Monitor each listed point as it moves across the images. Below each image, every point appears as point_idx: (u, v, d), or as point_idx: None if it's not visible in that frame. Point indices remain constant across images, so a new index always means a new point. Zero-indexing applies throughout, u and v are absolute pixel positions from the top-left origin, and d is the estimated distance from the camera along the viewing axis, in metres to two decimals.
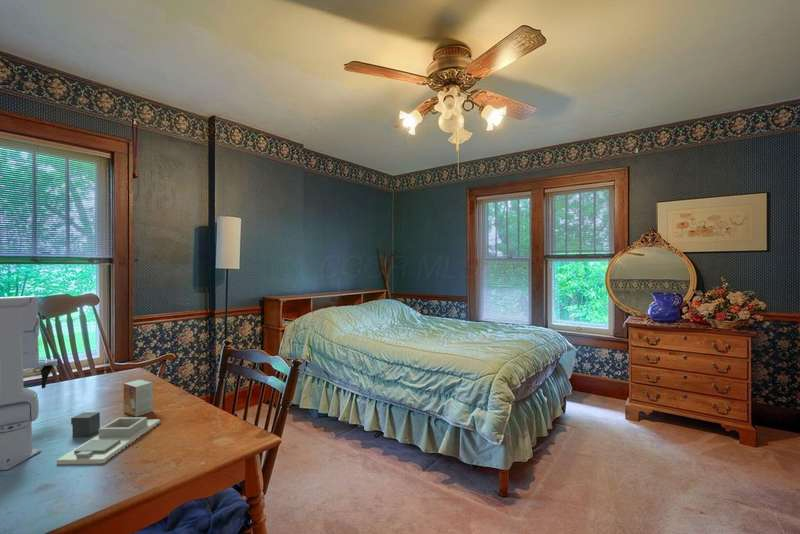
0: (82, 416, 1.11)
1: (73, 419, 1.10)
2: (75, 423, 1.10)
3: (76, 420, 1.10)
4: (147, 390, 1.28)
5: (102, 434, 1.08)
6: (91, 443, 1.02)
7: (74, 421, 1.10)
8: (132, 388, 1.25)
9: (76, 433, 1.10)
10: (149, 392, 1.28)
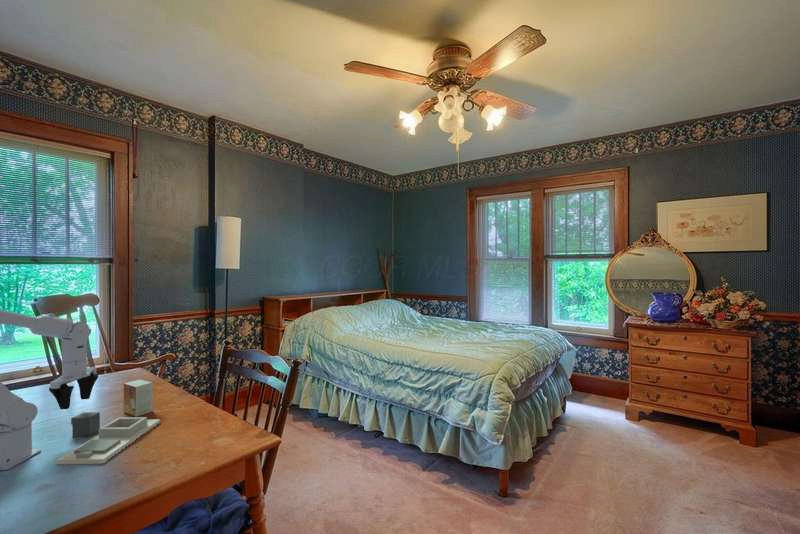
0: (82, 416, 1.11)
1: (73, 419, 1.10)
2: (75, 423, 1.10)
3: (76, 420, 1.10)
4: (147, 390, 1.28)
5: (102, 434, 1.08)
6: (91, 443, 1.02)
7: (74, 421, 1.10)
8: (132, 388, 1.25)
9: (76, 433, 1.10)
10: (149, 392, 1.28)
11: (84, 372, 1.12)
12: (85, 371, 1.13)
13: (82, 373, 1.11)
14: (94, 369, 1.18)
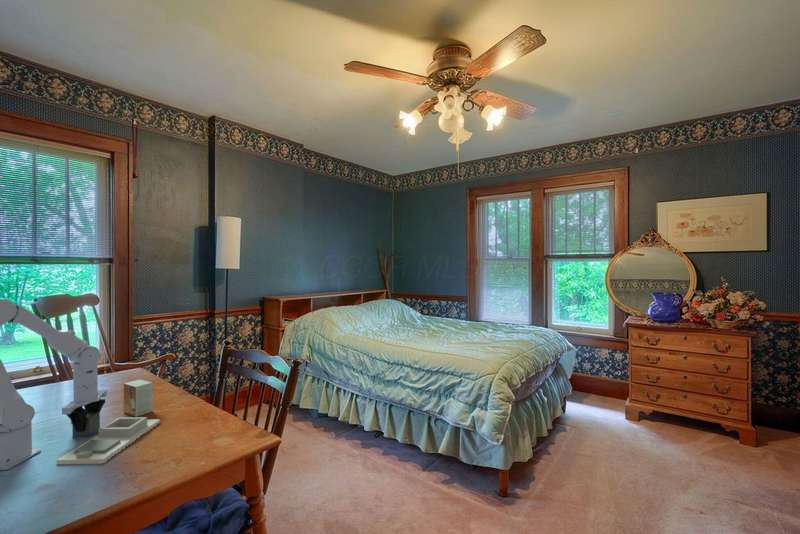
0: None
1: None
2: None
3: None
4: (147, 390, 1.28)
5: (102, 434, 1.08)
6: (91, 443, 1.02)
7: None
8: (132, 388, 1.25)
9: (76, 433, 1.10)
10: (149, 392, 1.28)
11: (95, 396, 1.12)
12: (96, 395, 1.13)
13: (93, 397, 1.12)
14: (105, 392, 1.19)
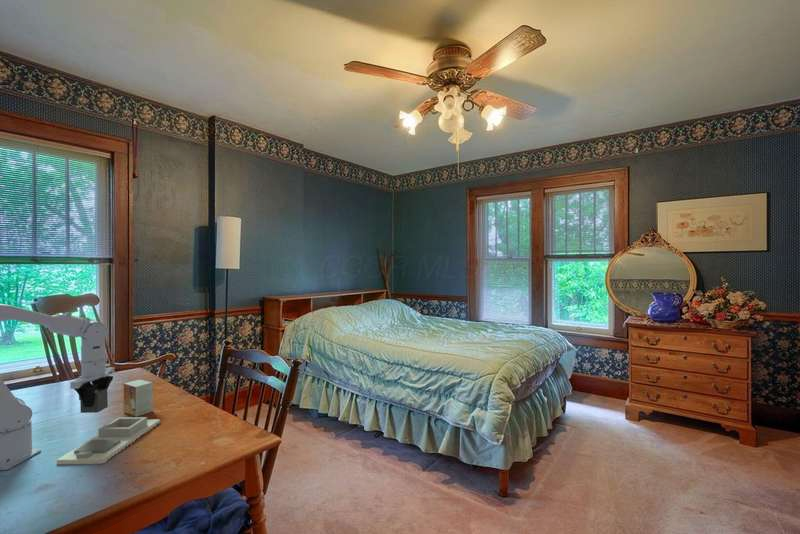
0: None
1: None
2: None
3: None
4: (147, 390, 1.28)
5: (102, 434, 1.08)
6: (91, 443, 1.02)
7: None
8: (132, 388, 1.25)
9: (84, 408, 1.10)
10: (149, 392, 1.28)
11: (103, 372, 1.12)
12: (104, 371, 1.13)
13: (101, 373, 1.11)
14: (112, 369, 1.18)
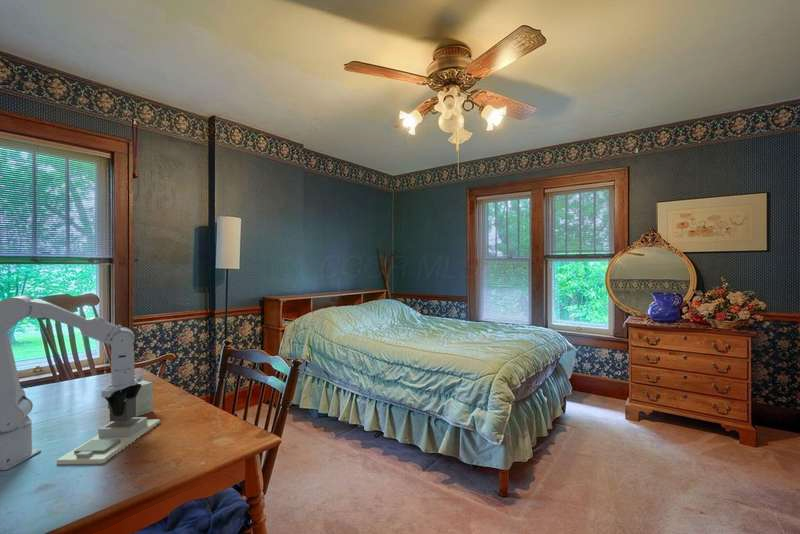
0: None
1: None
2: None
3: None
4: (147, 390, 1.28)
5: (102, 434, 1.08)
6: (91, 443, 1.02)
7: None
8: None
9: (113, 417, 1.10)
10: (149, 392, 1.28)
11: (132, 380, 1.12)
12: (133, 379, 1.12)
13: (131, 381, 1.11)
14: (140, 377, 1.18)
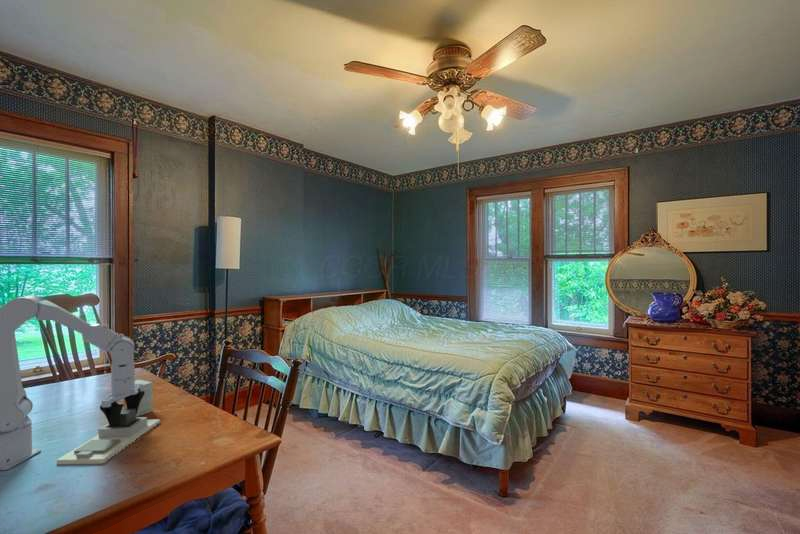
0: None
1: None
2: None
3: None
4: (147, 390, 1.28)
5: (102, 434, 1.08)
6: (91, 443, 1.02)
7: None
8: None
9: None
10: (149, 392, 1.28)
11: (132, 390, 1.12)
12: (133, 388, 1.12)
13: (131, 391, 1.11)
14: (140, 386, 1.18)
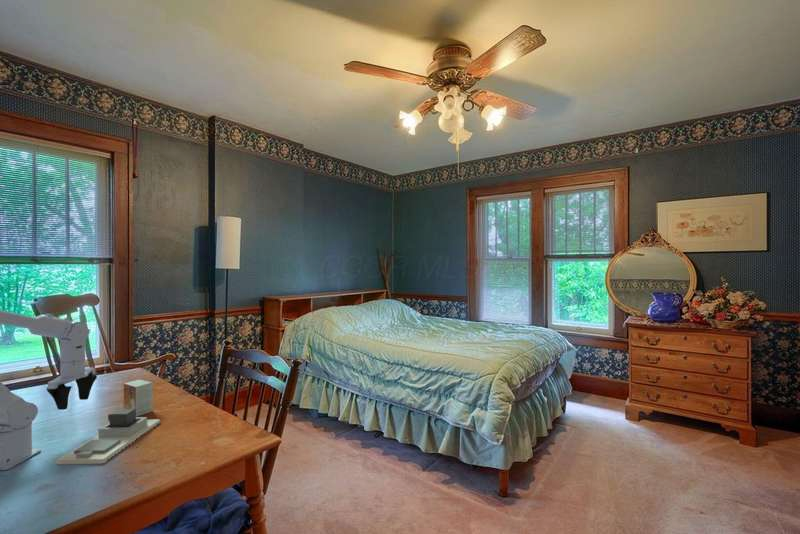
0: (119, 412, 1.11)
1: (110, 415, 1.10)
2: (112, 419, 1.10)
3: (114, 416, 1.10)
4: (147, 390, 1.28)
5: (102, 434, 1.08)
6: (91, 443, 1.02)
7: (111, 417, 1.10)
8: (132, 388, 1.25)
9: None
10: (149, 392, 1.28)
11: (82, 372, 1.12)
12: (83, 371, 1.12)
13: (80, 373, 1.11)
14: (93, 369, 1.18)
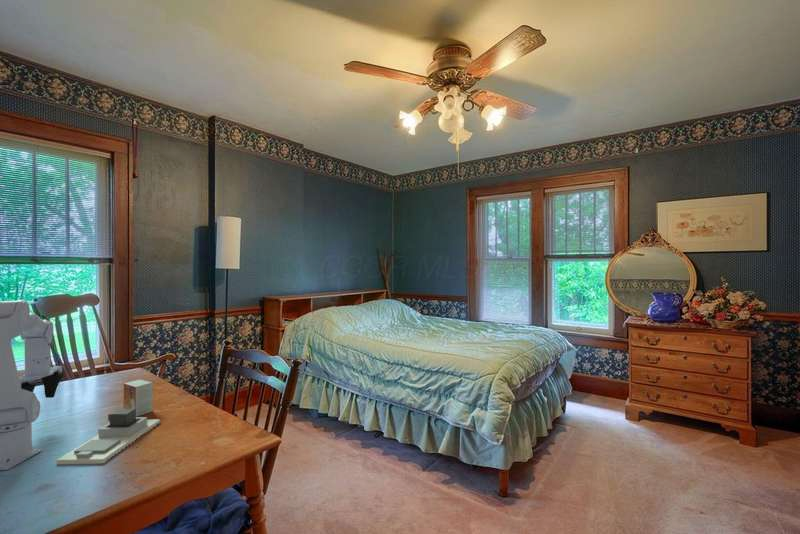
0: (119, 412, 1.11)
1: (110, 415, 1.10)
2: (112, 419, 1.10)
3: (114, 416, 1.10)
4: (147, 390, 1.28)
5: (102, 434, 1.08)
6: (91, 443, 1.02)
7: (111, 417, 1.10)
8: (132, 388, 1.25)
9: None
10: (149, 392, 1.28)
11: (47, 371, 1.14)
12: (48, 370, 1.14)
13: (45, 372, 1.13)
14: (59, 368, 1.20)
